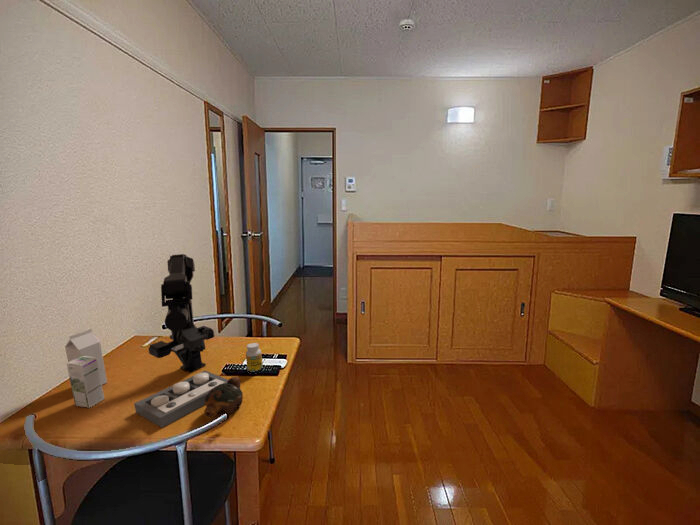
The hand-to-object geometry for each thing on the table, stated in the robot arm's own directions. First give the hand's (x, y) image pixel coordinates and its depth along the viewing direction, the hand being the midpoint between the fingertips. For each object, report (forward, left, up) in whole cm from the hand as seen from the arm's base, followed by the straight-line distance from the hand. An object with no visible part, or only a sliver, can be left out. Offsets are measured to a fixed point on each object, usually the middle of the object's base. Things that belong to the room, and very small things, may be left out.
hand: (186, 366), depth 125 cm
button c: (0, +4, -7) cm, 8 cm away
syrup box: (-23, -20, -10) cm, 32 cm away
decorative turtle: (+17, 0, -10) cm, 20 cm away
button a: (0, -10, -8) cm, 13 cm away
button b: (0, -3, -7) cm, 8 cm away
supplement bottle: (+5, +22, -10) cm, 25 cm away
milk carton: (-35, -15, -10) cm, 39 cm away
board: (+2, -3, -10) cm, 10 cm away
